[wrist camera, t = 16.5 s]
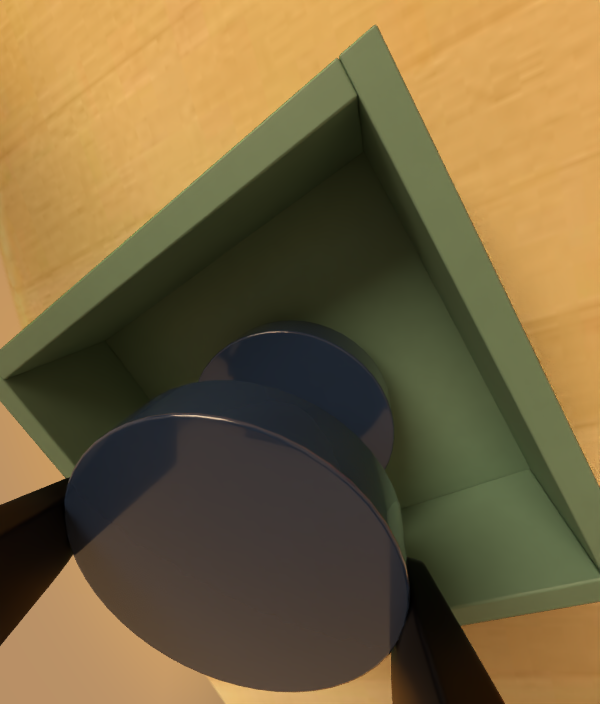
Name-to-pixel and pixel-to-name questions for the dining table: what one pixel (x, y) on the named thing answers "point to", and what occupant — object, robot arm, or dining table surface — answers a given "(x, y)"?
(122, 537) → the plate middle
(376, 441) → the dark round disc
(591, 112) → the dining table surface
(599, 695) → the dining table surface
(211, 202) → the tub
